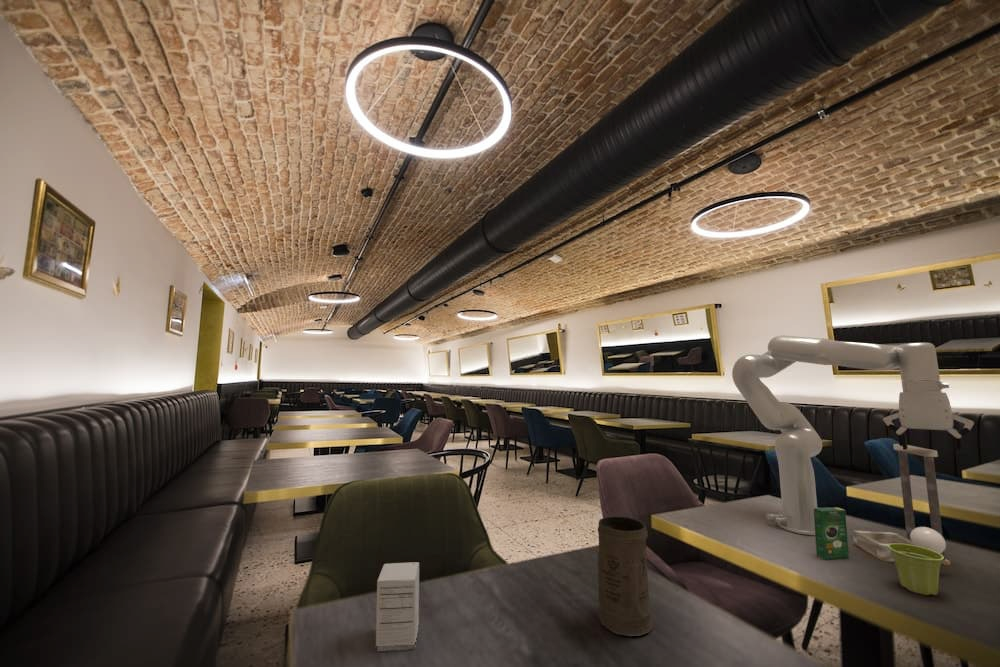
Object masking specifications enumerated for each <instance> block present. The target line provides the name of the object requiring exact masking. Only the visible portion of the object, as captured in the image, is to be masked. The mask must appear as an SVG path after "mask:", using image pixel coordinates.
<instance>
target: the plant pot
mask: <svg viewBox="0 0 1000 667" xmlns="http://www.w3.org/2000/svg"><path fill="white" fill-rule="evenodd" d="M888 548H889V549H890V551H891V554H892V555H893V557H894V561H895V562H894V565H895V567H896V572H897V575H898V579H899V583H900V586H902V588H906V589H907V590H908V591H910V592H912V593H917V594H918V595H919V594H920V595H924V596H929V595H932V596H937V595H938V593H939V582H940V581H939V579H940V568H941V562H942V560H944V556H943V555H941V554H940V553H938V552H935V551H933V550H930V549H926V548H923V547H919V546H915V545H909V544H901V543H891V544H888Z"/></svg>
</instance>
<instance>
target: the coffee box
mask: <svg viewBox="0 0 1000 667" xmlns="http://www.w3.org/2000/svg"><path fill="white" fill-rule="evenodd" d="M846 514H847V513H846V509H844V508H841V507H837V506H834V507H831V506H830V507H817V508H814V523H815V535H814V536H815V538H814V539H815V551H816V557H818V558H820V559H822V560H834V559H835V560H836V559H837V560H839V559H849V558H850V554H849V543H848V542H849V541H848V529H847V527H848V526H847V517H846Z"/></svg>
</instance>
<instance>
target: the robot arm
mask: <svg viewBox="0 0 1000 667" xmlns="http://www.w3.org/2000/svg"><path fill="white" fill-rule="evenodd" d="M797 362H799V363H808V364H813V365H823V366H839V367H847V368H853V369H860V370H861V369H862V370H869V371H870V370H871V371H891V370H899V372H900V380H901V387H902V392H899V395H898V412H896V413H893V414H891V415H887V416H885V417H883V418H882V421H883V422H884V423H885V425H886V426H887V427H888V429H890V430H891V431H893V432H894V433H896V434H897V437H898V444H899V445H900V446H903V449H904V450H906V449H907V448H908V447H907V445H908V441H907V435H906V434H905V432H906V431H907V429H912V430H915V429H916V430H932V431H938V430H939V431H947V432H948V433H949V434H951V435H952V437H951V439H952V440H951V441H952V447H953V453H954V454H956V455H959V452H960V451H963V447H962V442H961V441H962V440H961V438H962V437H963V436H965V435H967V434H968V433H969V432H970V431H971V430H972V429H973V426H974V424H975V422H974V421H973V420H971V419H968V418H965V417H963V416H959V415H957V414H955V413H953V411H952V406H951V402H950V399H949V397H948V394H947V393H946V392H943V391H942V390H943V389H949V388H950V385H949V383H948V382H942V381H941V378H940V376H941V375H940V371H939V370H940V369H939V364H938V357H937V350H936V346H935V345H934V343H931V342H908V343H901V344H899V345H890V344H888V345H887V344H880V343H879V344H878V343H870V342H869V343H867V342H853V341H842V340H840V341H839V340H833V339H830V338H820V337H808V336H794V335H777V336H775V337H773V338H771V339H770V340H769V342H768V344H767V351H766V352H765V353H762V354H747V355H746V354H745V355H743V356H741V357H739V358H738V359H737V360H736V361H735V363H734V364H733V367H732V371H731V372H732V373H731V375H732V380H733V384H734V385H735V387H736V388H737V390H738V391H739V393H740V395H742V397H743V398H744V400H745V401H746V402H747V404H748V406H749V407H750V408H751V410H752V412H753V413H754V414H755V416H757V418H758V420H759V421H760V423H761V424H762V425H763V426H764V427H765V429H766V428H767V429H768V430H770V431H771V430H772V431H780V432H781V433H780V434H779V435H778V436H777V437H776V439H775V442H774V450H775V454H776V458H777V459H776V460H777V463H778V471H779V485H780V496H781V509H782V510H779V512H777V513H767V514H766V518H767V520H768V521H775V523H776V522H777V525H778V527H779V528H781V529H783V530H786V531H787V532H792V533H795V534H799V535H805V536H815V523H814V508H818V503H817V502H818V500H817V490H816V487H817V486H816V479H815V471H814V470H815V469H814V467H813V462H812V460H811V458H812V457H815V456H817V455H819V454H820V453H821V452H822V449H823V441H822V438H821V437H820V435H819V434H818V433H817V431H816V429H815V428H814V427H813V426H812V425H811V423H810V422H809V421H808V419H807V418H806V417H805V415H803V413H802V412H801V410H799V408H797V407H796V406H795V405H793V403H790V402H786V401H779V400H778V399H777V397H776V396H775V395H774V394H773V393H772V391H771V390H770V388H769V387H768V386H767V385H766V384H764V382H763V381H762V380H761V378H762V379H763V378H767V379H768V378H771V377H773V376H775V375H777V374H779V373H780V372H782V371H784V370H785V369H787V368H788V367H790V366H791V365H793V364H795V363H797ZM896 419H899V422H900V425H901V426H900V427H898V426H896V425H895V424H894V423H893V422H892V421H893V420H896ZM954 421H957V422H960V423H962V424H964V426H963V428H961V429H960V430H957V429H955V428H954V426H955V422H954Z"/></svg>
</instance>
